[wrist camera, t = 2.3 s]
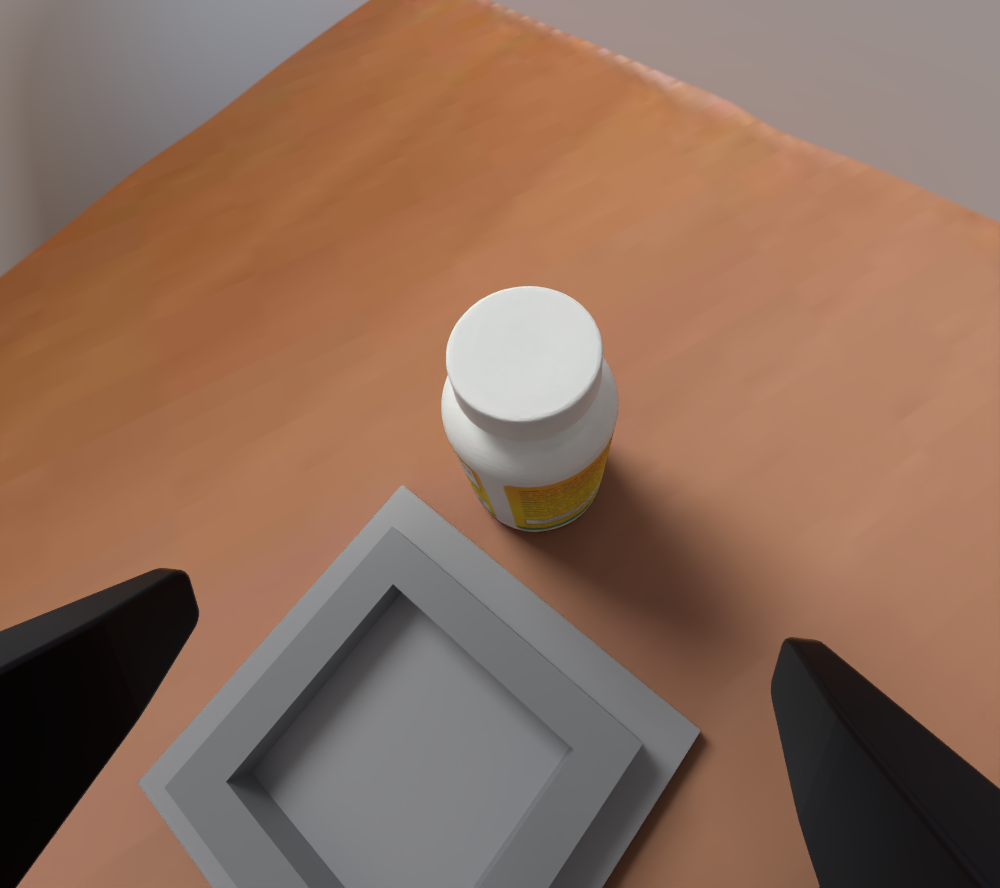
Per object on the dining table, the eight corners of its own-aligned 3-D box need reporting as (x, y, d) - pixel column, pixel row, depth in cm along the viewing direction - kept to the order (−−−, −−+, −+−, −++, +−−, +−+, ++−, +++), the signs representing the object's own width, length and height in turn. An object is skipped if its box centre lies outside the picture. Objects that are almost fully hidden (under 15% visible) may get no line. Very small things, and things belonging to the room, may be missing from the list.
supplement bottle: (451, 500, 22) (376, 395, 13) (510, 396, 23) (478, 239, 14) (569, 558, 20) (574, 484, 12) (622, 444, 22) (664, 301, 13)
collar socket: (425, 1158, 15) (403, 1234, 13) (149, 778, 19) (103, 793, 17) (696, 728, 18) (713, 736, 16) (406, 488, 22) (391, 473, 20)
